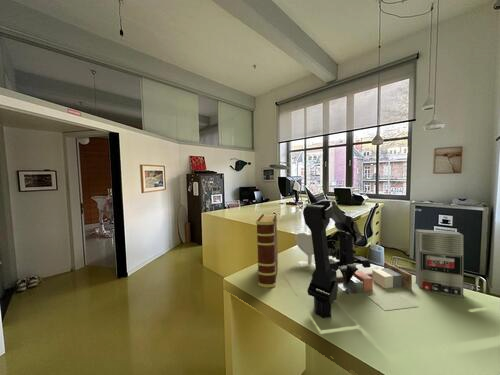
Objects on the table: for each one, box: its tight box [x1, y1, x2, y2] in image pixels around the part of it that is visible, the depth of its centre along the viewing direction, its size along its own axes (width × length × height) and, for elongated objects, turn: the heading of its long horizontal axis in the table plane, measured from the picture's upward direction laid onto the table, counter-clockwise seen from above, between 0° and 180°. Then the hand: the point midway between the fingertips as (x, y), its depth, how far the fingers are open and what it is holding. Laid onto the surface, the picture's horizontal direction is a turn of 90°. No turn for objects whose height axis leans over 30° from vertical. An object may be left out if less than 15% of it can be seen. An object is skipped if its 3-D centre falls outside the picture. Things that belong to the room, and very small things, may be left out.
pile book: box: [366, 292, 419, 312], centre depth 76 cm, size 9×13×2 cm
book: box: [380, 268, 403, 288], centre depth 90 cm, size 7×4×6 cm, turn 8°
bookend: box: [337, 276, 364, 295], centre depth 87 cm, size 9×7×4 cm
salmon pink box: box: [353, 270, 373, 292], centre depth 88 cm, size 7×4×6 cm, turn 8°
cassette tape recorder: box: [414, 229, 466, 299], centre depth 83 cm, size 14×6×25 cm, turn 64°
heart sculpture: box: [294, 231, 316, 269], centre depth 115 cm, size 16×5×18 cm, turn 54°
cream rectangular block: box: [371, 268, 394, 289], centre depth 89 cm, size 7×4×6 cm, turn 8°
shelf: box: [337, 261, 413, 291], centre depth 88 cm, size 13×33×8 cm, turn 98°
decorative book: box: [255, 213, 279, 289], centre depth 102 cm, size 22×8×30 cm, turn 168°
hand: (346, 283), depth 87 cm, fingers closed
